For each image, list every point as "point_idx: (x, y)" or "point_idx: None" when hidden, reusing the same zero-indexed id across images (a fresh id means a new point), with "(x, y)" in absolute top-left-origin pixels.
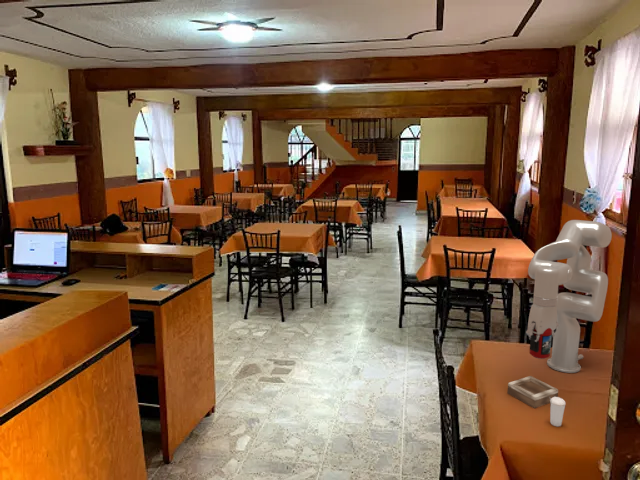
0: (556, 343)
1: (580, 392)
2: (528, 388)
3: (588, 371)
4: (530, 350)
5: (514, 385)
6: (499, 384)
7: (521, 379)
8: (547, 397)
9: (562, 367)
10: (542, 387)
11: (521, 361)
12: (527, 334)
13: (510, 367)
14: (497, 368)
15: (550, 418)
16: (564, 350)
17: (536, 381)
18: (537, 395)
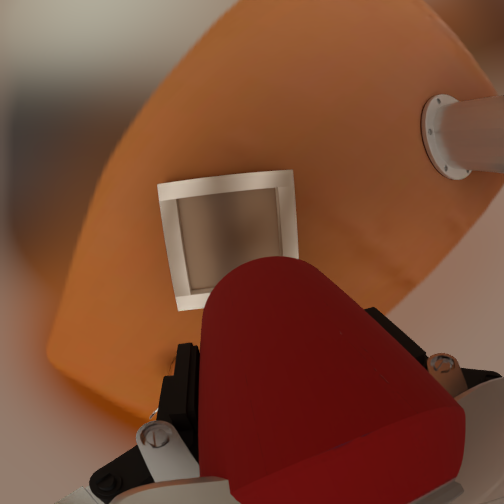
0: (487, 121)
1: (382, 265)
2: (220, 229)
3: (469, 189)
4: (205, 315)
5: (166, 211)
6: (185, 120)
7: (231, 179)
8: None
9: (440, 150)
10: (276, 243)
11: (376, 47)
12: (70, 497)
13: (317, 48)
14: (269, 33)
15: (172, 366)
16: (481, 151)
17: (279, 213)
18: (196, 303)
